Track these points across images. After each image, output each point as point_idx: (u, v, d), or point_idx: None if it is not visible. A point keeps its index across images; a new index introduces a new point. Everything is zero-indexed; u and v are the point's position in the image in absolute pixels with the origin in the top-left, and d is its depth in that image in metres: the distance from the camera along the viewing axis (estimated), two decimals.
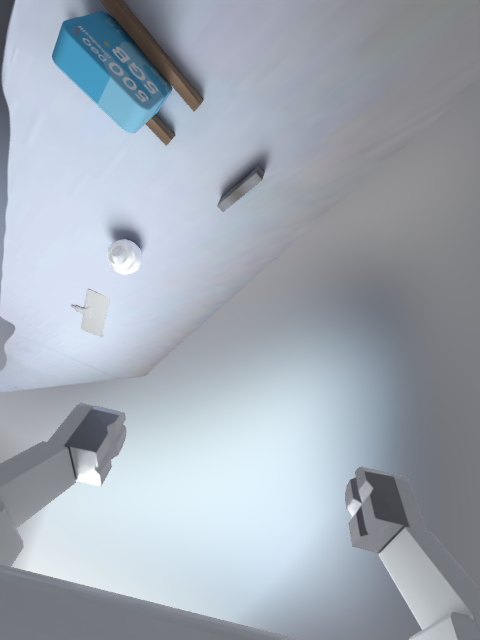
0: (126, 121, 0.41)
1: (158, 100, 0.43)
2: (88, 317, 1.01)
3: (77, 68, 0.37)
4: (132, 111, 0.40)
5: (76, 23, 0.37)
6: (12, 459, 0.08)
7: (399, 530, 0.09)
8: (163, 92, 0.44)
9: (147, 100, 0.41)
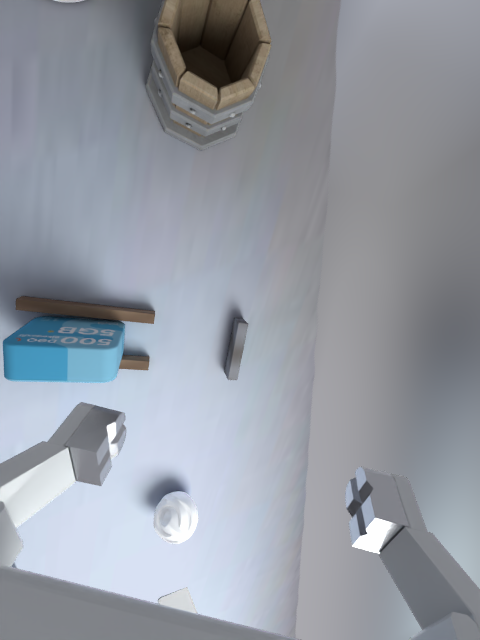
0: (103, 372, 0.36)
1: (119, 336, 0.41)
2: None
3: (33, 366, 0.34)
4: (103, 359, 0.36)
5: (16, 335, 0.35)
6: (12, 459, 0.08)
7: (399, 530, 0.09)
8: (119, 329, 0.43)
9: (111, 341, 0.38)
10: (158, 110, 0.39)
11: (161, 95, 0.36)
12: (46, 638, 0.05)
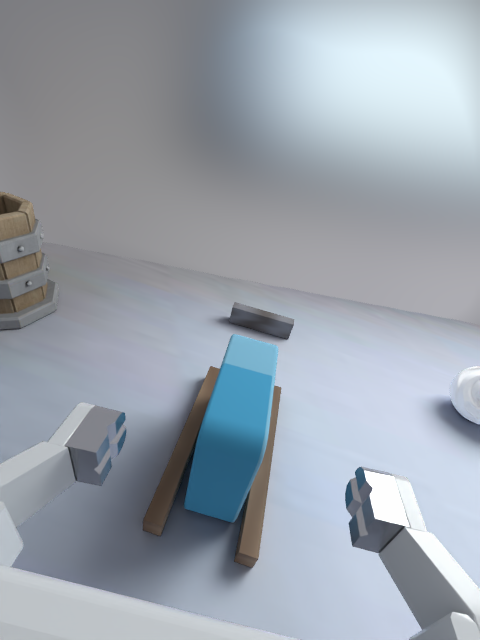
0: (263, 344, 0.28)
1: None
2: None
3: (244, 402, 0.22)
4: (245, 339, 0.28)
5: None
6: (12, 459, 0.08)
7: (399, 530, 0.09)
8: None
9: None
10: None
11: None
12: (46, 638, 0.05)
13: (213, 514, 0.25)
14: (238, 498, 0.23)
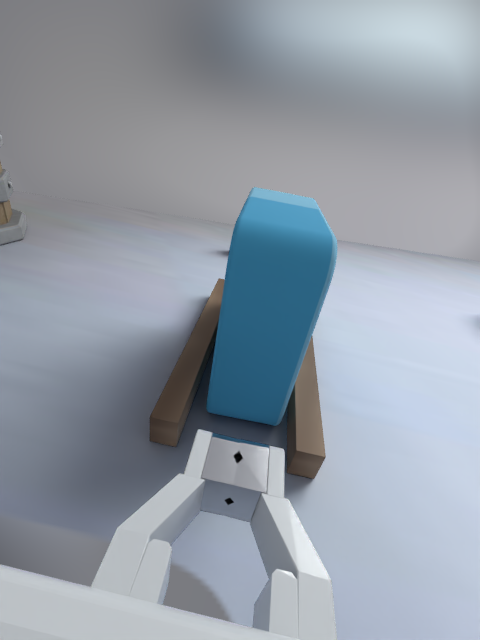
0: (295, 195, 0.21)
1: None
2: None
3: (290, 217, 0.15)
4: (271, 190, 0.21)
5: None
6: (159, 494, 0.08)
7: (259, 497, 0.09)
8: None
9: None
10: None
11: None
12: (46, 638, 0.05)
13: (250, 411, 0.17)
14: (289, 369, 0.15)
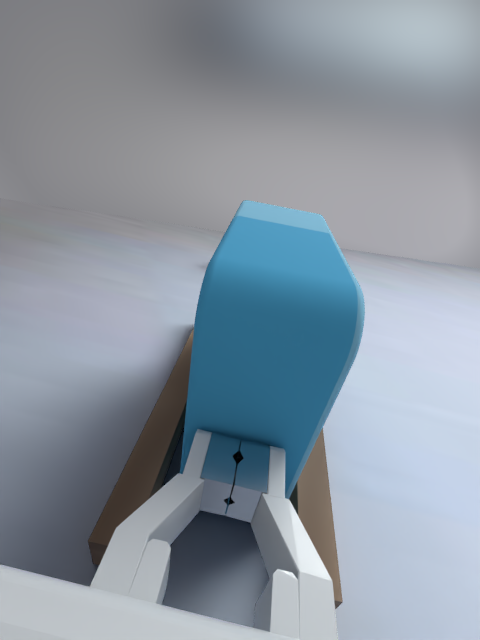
0: (298, 210, 0.16)
1: None
2: None
3: (292, 251, 0.10)
4: (266, 204, 0.16)
5: None
6: (158, 494, 0.08)
7: (260, 497, 0.09)
8: None
9: None
10: None
11: None
12: (46, 638, 0.05)
13: None
14: (289, 466, 0.11)
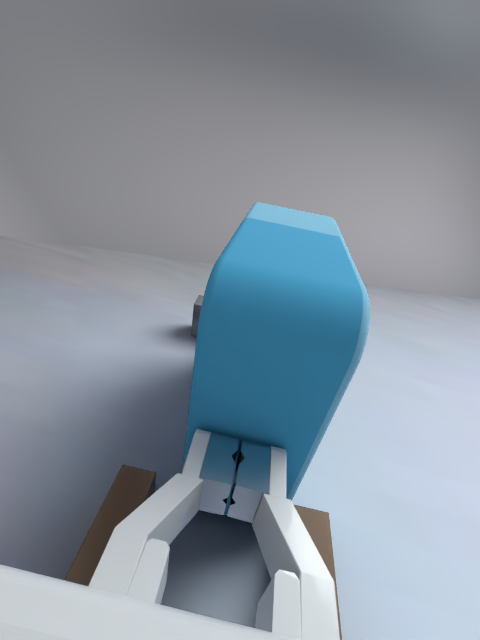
0: None
1: None
2: None
3: (299, 253, 0.10)
4: (278, 206, 0.16)
5: None
6: (157, 494, 0.08)
7: (261, 497, 0.09)
8: None
9: None
10: None
11: None
12: (46, 638, 0.05)
13: None
14: (291, 470, 0.11)
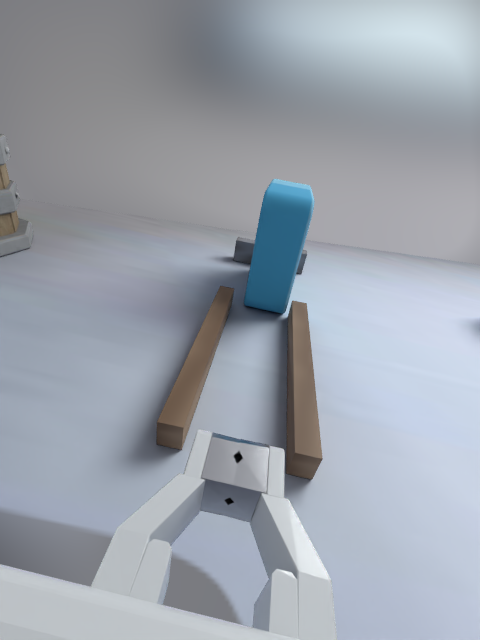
0: None
1: None
2: None
3: (292, 191, 0.29)
4: None
5: None
6: (159, 494, 0.08)
7: (259, 497, 0.09)
8: None
9: None
10: None
11: None
12: (46, 638, 0.05)
13: (269, 301, 0.31)
14: (290, 271, 0.29)
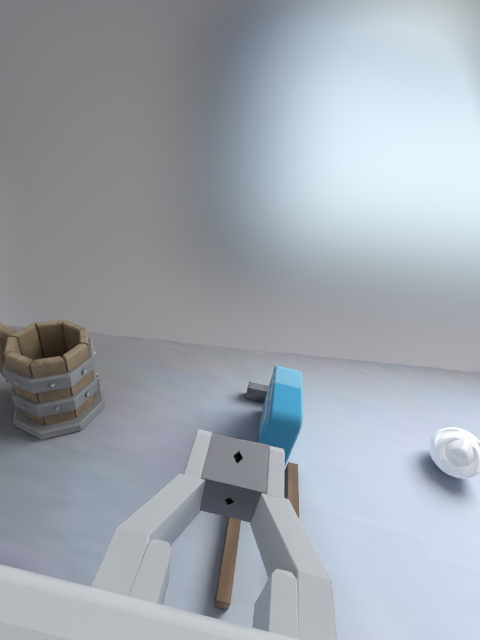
0: (293, 371, 0.50)
1: (270, 382, 0.54)
2: None
3: (289, 402, 0.44)
4: (283, 368, 0.51)
5: (266, 425, 0.44)
6: (159, 494, 0.08)
7: (259, 497, 0.09)
8: None
9: (272, 375, 0.52)
10: (64, 427, 0.46)
11: (59, 407, 0.44)
12: (46, 638, 0.05)
13: None
14: (287, 451, 0.45)
